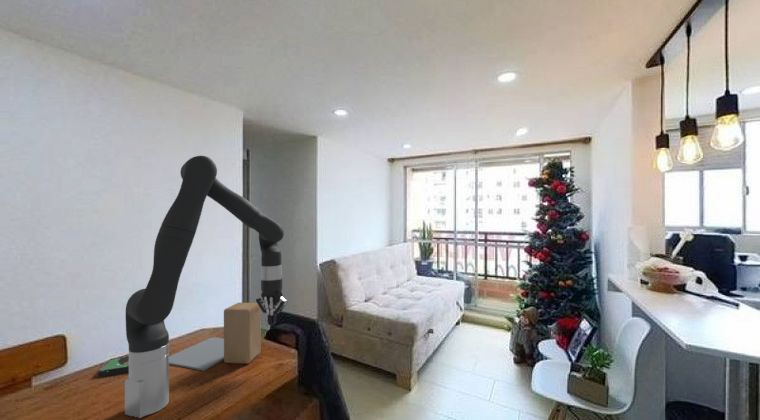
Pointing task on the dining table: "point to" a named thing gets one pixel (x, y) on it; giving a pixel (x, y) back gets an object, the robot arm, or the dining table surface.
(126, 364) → the disk drive
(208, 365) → the mat
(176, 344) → the dining table surface
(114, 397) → the dining table surface
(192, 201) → the robot arm
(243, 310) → the wooden block
